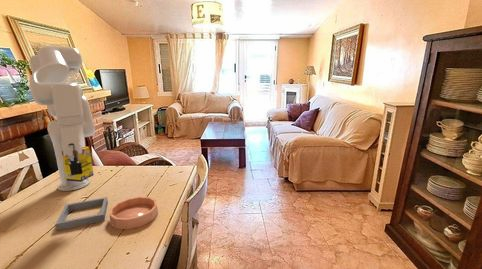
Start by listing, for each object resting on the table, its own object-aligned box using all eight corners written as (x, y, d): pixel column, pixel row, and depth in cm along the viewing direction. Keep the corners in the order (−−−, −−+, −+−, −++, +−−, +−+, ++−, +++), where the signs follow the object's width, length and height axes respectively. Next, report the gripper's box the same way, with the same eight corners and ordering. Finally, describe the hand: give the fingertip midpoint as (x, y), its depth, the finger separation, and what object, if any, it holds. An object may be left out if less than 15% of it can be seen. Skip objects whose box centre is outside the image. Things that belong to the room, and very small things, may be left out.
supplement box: (81, 182, 84) (75, 151, 82) (66, 181, 85) (60, 150, 83) (94, 175, 90) (89, 146, 87) (80, 174, 91) (75, 145, 88)
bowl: (112, 210, 94) (111, 201, 94) (155, 201, 100) (154, 193, 100) (109, 233, 80) (107, 223, 80) (159, 221, 86) (158, 213, 86)
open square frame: (66, 210, 95) (65, 204, 94) (108, 202, 100) (107, 197, 99) (56, 230, 82) (55, 224, 82) (104, 220, 88) (103, 214, 87)
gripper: (64, 117, 89) (72, 163, 93) (49, 126, 74) (60, 181, 78) (88, 116, 92) (95, 160, 96) (78, 124, 76) (87, 177, 80)
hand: (79, 169), depth 87 cm, fingers closed on supplement box, 8 cm apart
